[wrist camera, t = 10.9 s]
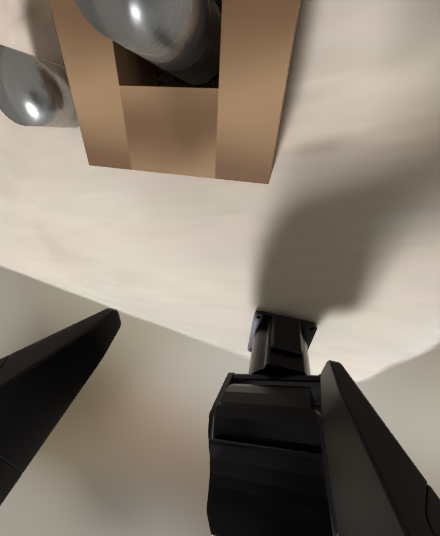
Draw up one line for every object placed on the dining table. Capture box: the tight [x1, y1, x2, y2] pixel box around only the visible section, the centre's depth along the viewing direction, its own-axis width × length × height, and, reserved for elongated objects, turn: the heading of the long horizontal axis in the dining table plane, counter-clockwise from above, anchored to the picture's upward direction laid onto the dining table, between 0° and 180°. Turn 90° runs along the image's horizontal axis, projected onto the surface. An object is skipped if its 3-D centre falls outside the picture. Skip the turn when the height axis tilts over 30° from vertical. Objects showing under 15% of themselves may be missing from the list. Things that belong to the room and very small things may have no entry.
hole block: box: [49, 0, 301, 184], centre depth 11 cm, size 14×12×4 cm
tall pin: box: [74, 0, 222, 85], centre depth 10 cm, size 4×4×8 cm
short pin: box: [0, 45, 80, 128], centre depth 15 cm, size 4×4×4 cm
